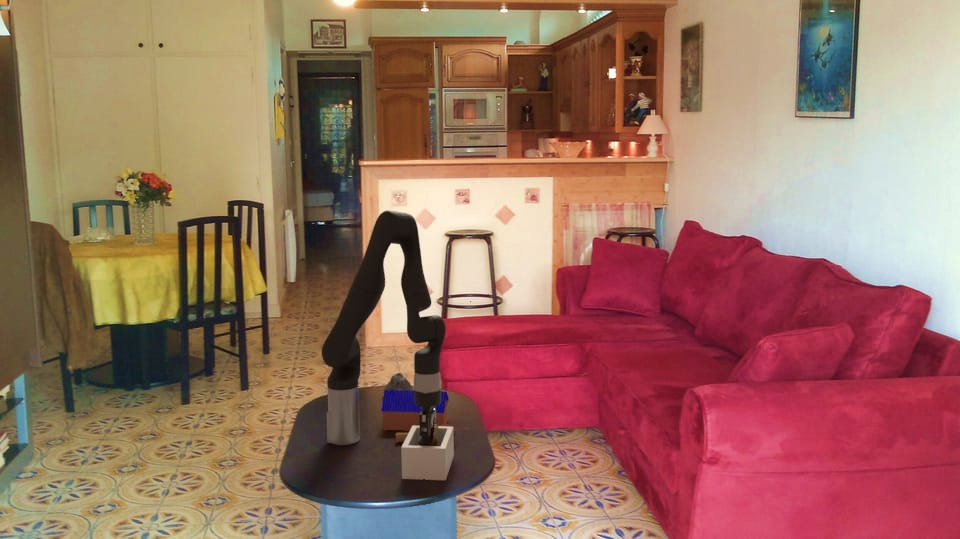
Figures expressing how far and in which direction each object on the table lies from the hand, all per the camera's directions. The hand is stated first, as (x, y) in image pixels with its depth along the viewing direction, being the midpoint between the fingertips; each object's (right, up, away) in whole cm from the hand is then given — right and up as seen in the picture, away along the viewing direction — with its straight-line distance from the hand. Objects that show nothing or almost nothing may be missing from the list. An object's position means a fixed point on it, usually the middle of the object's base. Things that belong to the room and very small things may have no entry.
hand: (428, 442), depth 234 cm
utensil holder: (0, -6, +1) cm, 6 cm away
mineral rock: (-14, +2, +61) cm, 63 cm away
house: (-6, -2, +35) cm, 36 cm away
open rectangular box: (0, -7, +1) cm, 7 cm away
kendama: (-2, -4, +20) cm, 20 cm away
